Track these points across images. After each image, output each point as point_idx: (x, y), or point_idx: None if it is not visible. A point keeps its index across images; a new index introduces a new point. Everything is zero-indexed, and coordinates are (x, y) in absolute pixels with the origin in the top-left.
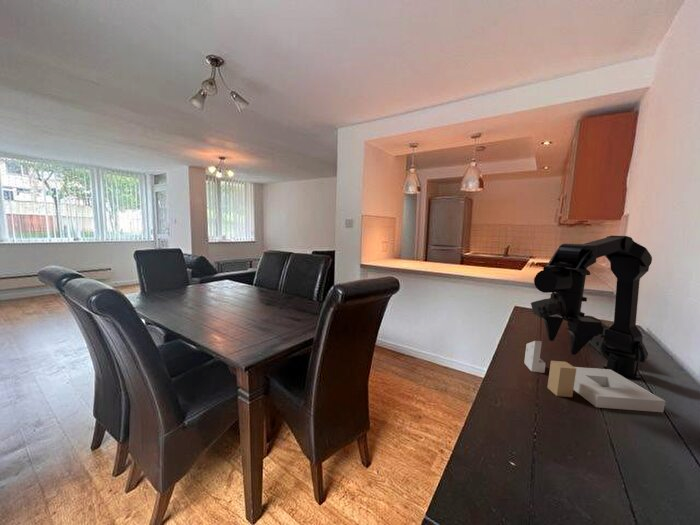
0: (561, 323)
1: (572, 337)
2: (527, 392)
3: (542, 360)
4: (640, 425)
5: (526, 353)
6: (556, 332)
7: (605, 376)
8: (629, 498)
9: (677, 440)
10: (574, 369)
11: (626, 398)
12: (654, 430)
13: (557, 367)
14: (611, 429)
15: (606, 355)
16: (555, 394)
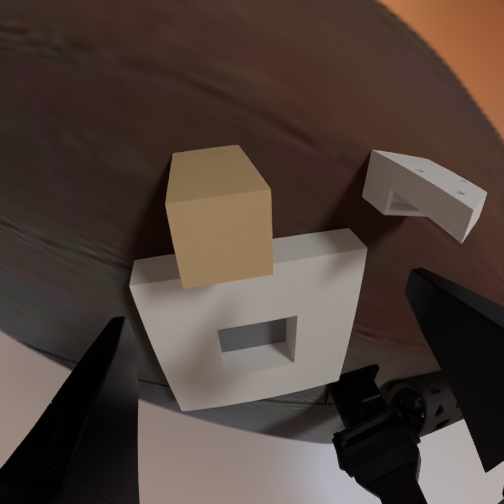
0: (469, 431)
1: (45, 461)
2: (171, 36)
3: (406, 215)
4: (85, 321)
5: (451, 174)
6: (439, 354)
7: (294, 360)
8: None
9: (63, 352)
10: (181, 277)
11: (156, 354)
12: (79, 336)
13: (195, 194)
14: (24, 241)
15: (405, 386)
16: (181, 152)
